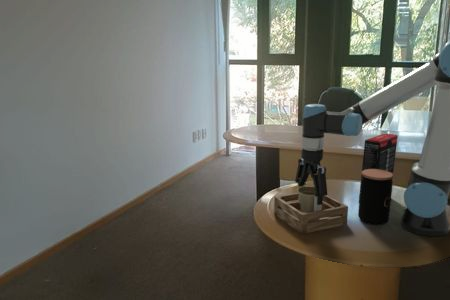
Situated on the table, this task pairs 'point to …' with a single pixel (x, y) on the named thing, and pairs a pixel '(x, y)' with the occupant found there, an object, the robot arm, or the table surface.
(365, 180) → the coffee jar
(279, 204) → the crate
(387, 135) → the graphics card box
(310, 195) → the flower pot
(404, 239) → the table surface
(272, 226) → the table surface
